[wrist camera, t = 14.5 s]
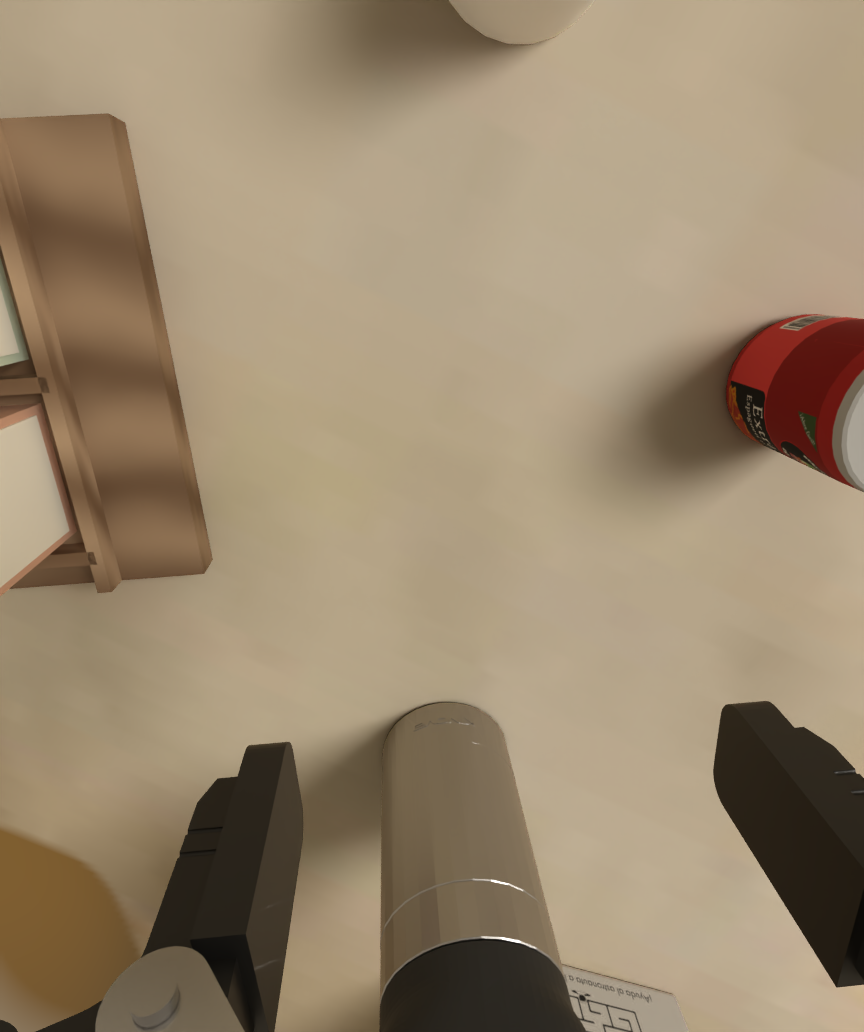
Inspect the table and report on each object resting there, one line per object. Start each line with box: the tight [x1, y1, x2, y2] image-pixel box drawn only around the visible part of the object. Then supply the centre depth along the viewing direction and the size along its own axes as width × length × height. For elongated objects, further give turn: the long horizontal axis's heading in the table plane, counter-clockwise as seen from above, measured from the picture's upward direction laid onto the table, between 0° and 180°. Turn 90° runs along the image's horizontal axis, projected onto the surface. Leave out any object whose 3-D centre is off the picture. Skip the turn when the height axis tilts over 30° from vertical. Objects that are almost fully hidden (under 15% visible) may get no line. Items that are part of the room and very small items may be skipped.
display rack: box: [0, 114, 213, 593], centre depth 34 cm, size 24×13×4 cm, turn 3°
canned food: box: [726, 314, 864, 492], centre depth 33 cm, size 8×8×11 cm
